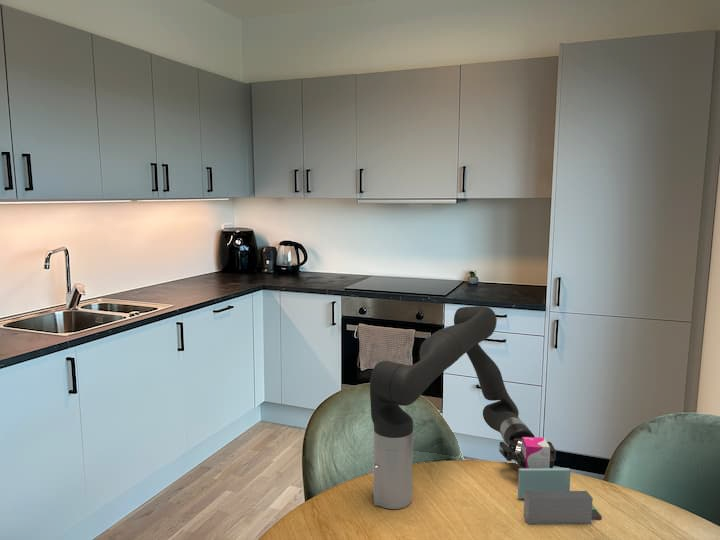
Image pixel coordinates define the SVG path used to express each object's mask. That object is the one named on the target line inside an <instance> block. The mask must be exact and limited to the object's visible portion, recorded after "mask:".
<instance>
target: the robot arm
mask: <svg viewBox="0 0 720 540" xmlns="http://www.w3.org/2000/svg"><path fill="white" fill-rule="evenodd" d="M497 323H498V322H497V314H496V313H495V312H494V310H493V309H492V308H490V307H489V306H485V305H479V306H475V305H474V306H463V307H459V308H458V309H456V310H455V312H454V316H453V325H449V326H446V327H443V328H441V329H438V330H437V331H435V332H434V333H432V334H431V335H429V336H428V337H427V338H426V339H424V340H423V342H422V343H421V345H420V349H419V360H418V361H417V362H416V363H413V364H404V363H399V362H394V361H388V360H381V361H379V362H377V363H376V364H375V365H374V367H373V369H372V371H371V374H370V380H369V398H370V417H371V421H372V424H373V456H372V496H373V505H374V506H377V507H378V506H379V507H381V508H384V509H388V510H390V509H391V510H399V509H404V508H406V507H408V506H409V505H410V504H411V503H412V501H413V468H414V467H413V463H414V461H413V458H414V457H413V455H414V454H413V453H414V420H413V418H412V417H411V416H410V414H408V413H407V412H406V411H404V410H403V408H402V407H401V406H403V407H404V406H405V407H406V406H410V405H412V404H413V403H415V402H416V401H417V400H418V399H419V398H420V397H421V395H422V394H423V393H424V392H425V391H426V390H427V389H428V388H429V387H430V385H431V384H432V383H433V382H434V381H435V380H436V379H437V378H438V377H440V376H441V374H442V373H443V372H445V371H446V370H447V369H449V368H450V367H451V366H452V365H454V364H455V363H456V362H457V361H458V360H460V358H461V357H463V356H464V355H465V354H466V355H467V357H468V358H469V361H470V362H471V364H472V366H473V369H474V371H475V374H476V378H477V380H478V384H479V387H480V390H481V392H482V396H483V398H484V399H485V400H487V401H491V402H492V401H495V402H492V403H489V404H487V405H485V406H484V407H483V410H482V417H483V419H484V422H485V424H487V426H488V427H490V429H492V430H494V431H496V432H497V433H500V435H501V438H502V440H503V441H499V447H498V448H499V450H498V452H500V454H501V455H502V456H503V457H504V458H505V460H506V461H507V462H508V461H509V462H512V461H514V462H515V463H517V465H518V466H519V467H520V468H521V467H522V468H526V460H525V458H524V457H523V456H522V454H521V451H522V437H536V436H535V434H534V433H533V432H532V431H531V430H530V429H529V427H528V426H527V425H526V423H524V421H523V420H521V418H520V417H519V414H520V413H519V409H518V407H517V405H516V403H515V402H514V401H513V399H512V397H510V394H509V393H508V391H507V389H506V386H505V382H504V380H503V375H502V373H501V369H500V368H499V366H498V365H497V364H496V363H495V361H494V360H493V359H492V358H491V357H490V356H489V355H488V354H487V352H486V351H484V349H483V348H482V347H481V346H480V343H482V342H484V341H485V340H487V339H488V338H490V337H491V336H492V335H493V334H494V332H495V330H496V327H497ZM547 443H548V445H549V446H550V464H549V468H554V467H555V461H557V460H556V457H557V451H556V448H555V447H554V445H553V444H552V442H551V441H547Z"/></svg>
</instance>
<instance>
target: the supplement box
mask: <svg viewBox="0 0 720 540" xmlns="http://www.w3.org/2000/svg"><path fill="white" fill-rule="evenodd" d="M547 442H548V441H547V440H546V438H545V437H538V436H535V437H522V451H521V454H522V456H523V457H524V458H525V460H526V468H549V464H550V446H549V445H548V443H547ZM520 468H522V467H520Z"/></svg>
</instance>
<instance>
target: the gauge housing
mask: <svg viewBox="0 0 720 540" xmlns="http://www.w3.org/2000/svg"><path fill="white" fill-rule="evenodd" d="M593 499H594V498H593V497H592V495H591V494H590V493H589V492H588V491H587V490H570V491H525V494H524V498H523V501H524V502H523V517H524V520H525V521H526V523H527V525H585V524H586V525H588V524H590V525H591V524H592V521H594V520H595V521H599V520H600V521H601V520H603V517H602V514H600V512H599V511H598V510H597V508H596V507H595V506H594V504H593Z"/></svg>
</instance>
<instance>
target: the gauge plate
mask: <svg viewBox="0 0 720 540" xmlns="http://www.w3.org/2000/svg"><path fill="white" fill-rule="evenodd" d="M517 480H518V481H517V497H518V499H521V500H522V499H524V494H525V491H571V490H570V489H571V488H570V487H571V486H570V485H571V469H570V468H569V467H564V468H563V467H561V468H560V467H559V468H558V467H556V468H554V467H553V468H521V467H520V468H518V479H517Z"/></svg>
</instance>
